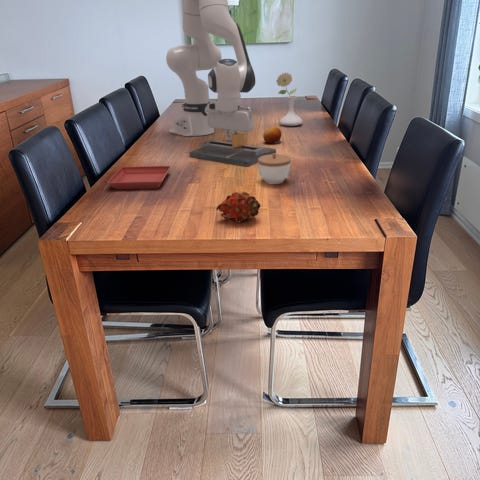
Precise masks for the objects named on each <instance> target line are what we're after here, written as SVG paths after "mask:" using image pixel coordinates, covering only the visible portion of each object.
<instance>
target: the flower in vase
mask: <svg viewBox="0 0 480 480" xmlns="http://www.w3.org/2000/svg"><path fill="white" fill-rule="evenodd" d="M292 81H293V77H292V74H291V73H289V72H281V74H279V75H278V77H277V79H276V84H277V85H276V86H279V87H281V88H285V89H281V90H280V91H278V92H277V94H279V95H285V94H286V93H287V94H288V95H287V96H286V99H287V100H288V112H287V113H286V114H285V115H284V116H282V118H281V119H280V120H279V124H281V125H283V126H285V127H294V126H299V125H301V124H303V119H302V117H300V116H299V115H297V113H296V112H295V111H294V110H295V109H294V106H295V101H296V98H297V95H292V94H295V92H296V91H297V88H294V89H292V90H290V91H288V88H287V86H290V85H291V82H292Z"/></svg>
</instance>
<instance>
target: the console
mask: <svg viewBox="0 0 480 480" xmlns="http://www.w3.org/2000/svg"><path fill="white" fill-rule="evenodd" d="M199 144H200V147H199V148H196V149H194V150H191V151H188V154H189V158H194V159H201V160H204V161H211V162H217V163H223V164H229V165H236V166H241V167H246V168H247V167H248V168H249V167H251V166H253V165H255V164H258V158H259V157H261V156H264V155H270V154H273V153H276V154H277V149H276V148H272V147H266V146H265V147H264V146H257V145H250V144H244V145H242V148H238V147H237V148H236V147H232V142H231V141H222V140H216V139H210V140H209V139H208V140H207V141H204V142H201V143H199Z"/></svg>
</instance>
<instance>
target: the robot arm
mask: <svg viewBox="0 0 480 480" xmlns="http://www.w3.org/2000/svg"><path fill="white" fill-rule="evenodd" d="M182 30H183V32H184V33H185V35H186V36H188V37H190V38H192V40H193V44H189V45H177V46H174V47H171V48H169V49H168V51H167V53H166V59H165V61H166V64H167V67H168V68H169V69H170V70H171V71H172V72H173V73H175V74H176V75H177V76H178V78H179V79H180V81H181V83H182V87H183V90H184V99H185V103H183V104H181V108H183V109H182V111H181V112H180V113H179V114H178V115H177V116H176V117H175V118H174V120H173V128H170V129H169V130H168V133H171V134H174V135H178V136H183V137H198V136H206V135H211V134H214V132H215V129H218V130H219V129H220V130H223V133H224V135H225V137H226V142H232V134H235V133H238V132H243V133H250V132H252V131H253V130H254V128H255V123H254V117H253V109H252V108H250V107H249V106H243V105H242V97H241V96H242V95H241V93H245V94H246V93H249V92H251V91H252V90H253V89H254V87H255V85H256V75H255V72H254V68H253V66H252V64H251V61H250V57H249V54H248V50H247V49H248V48H247V47H246V43H245V39H244V36H243V32H242V29H241V27H240V25H239V23H237V22H235V21H234V19H233V18H232V16H231V14H230V9H229V4H228V0H183V4H182ZM210 35H213V36H214V37H217V38H221V39H223V40H225V41H226V42H228V43H230V44H231V45H232V47H233V50H234V54H235V57H236V60H235V59H231V58H222V52H221V50H220V48H219V47H218V46H217V44H215V43H214V42H213V41H212V38H211V36H210ZM209 70H210V71H209ZM199 71H209V72H208V74H207V81H204V80H203V79H201V78H200V77H198V76H197V72H199ZM209 90H210V91H211V92H213V93H215V94H217V100H215V101H212V102H210V94H209V93H210V92H209ZM230 132H231V134H230Z"/></svg>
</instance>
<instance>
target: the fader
mask: <svg viewBox="0 0 480 480" xmlns="http://www.w3.org/2000/svg"><path fill="white" fill-rule="evenodd" d="M244 133H245V132H242V131H237V133H235V134H232V133H231V136H232V141H231V143H232V147H236V148H237V147H238V148H242V145H245V137H244Z"/></svg>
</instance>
